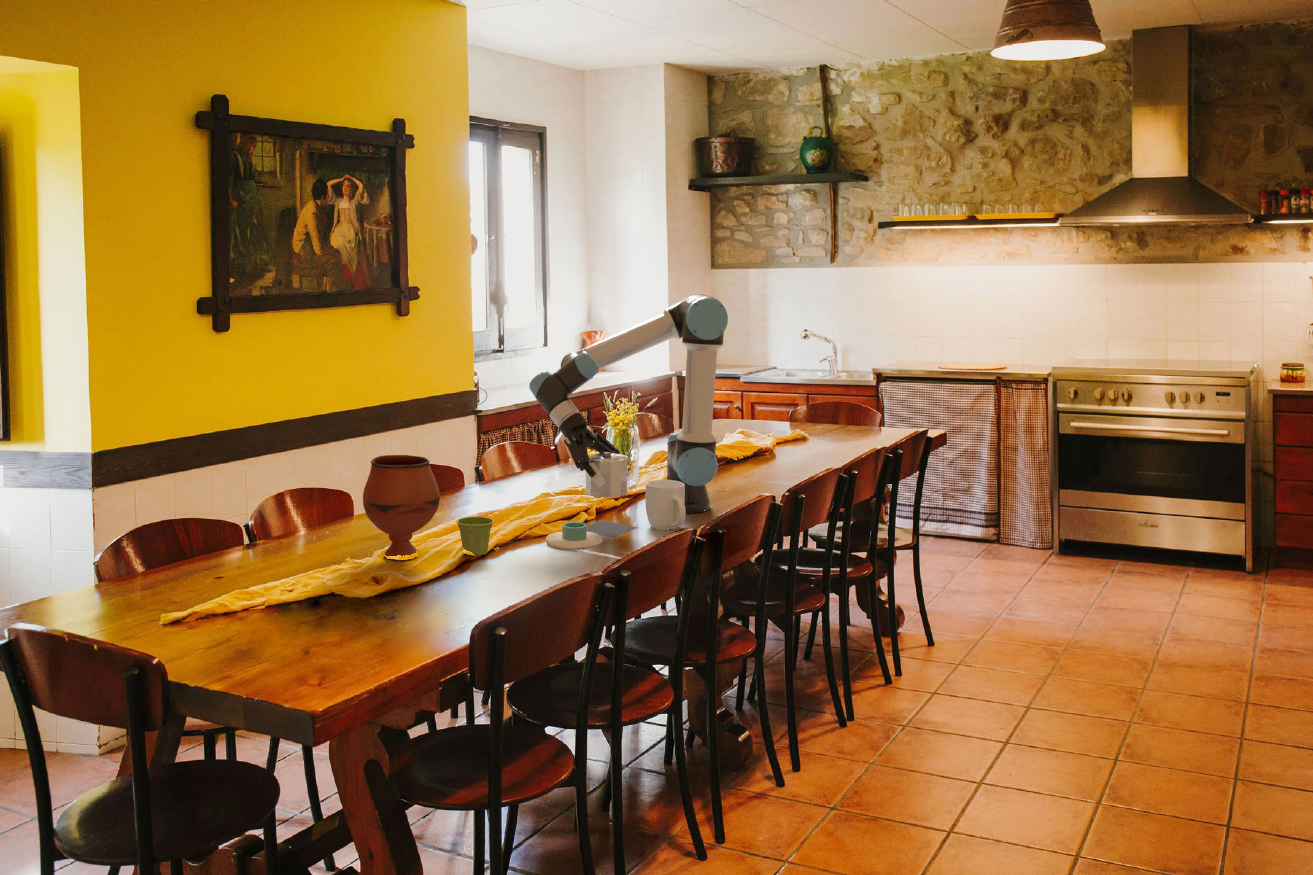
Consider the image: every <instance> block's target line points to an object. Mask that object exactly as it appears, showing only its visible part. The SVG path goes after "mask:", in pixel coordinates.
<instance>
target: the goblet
mask: <svg viewBox="0 0 1313 875" xmlns="http://www.w3.org/2000/svg"><path fill="white" fill-rule="evenodd" d="M370 464H371V465H370V472H369V475H368V476H367V480H366V483H365V486H364V489H363V493H362V504H363V505H362V506H363V509H364V512H365V515H366V518H368V520H369V521H370V522H372V524H373V525H374V526H375V527H376V528H377V529H378V530H380V531H381V532H383V533H384V534H386V535H388V540H389V541H391V544H390V545H389V546H388V548H387V549H386V550H385V552H384V554H385V555H386V556H397V555H401V556H403V555H404V556H405V555H411V554H413V553H416V551H418V549H417V548H416V547H415V546H414V545H413V544H412V542H411V541H410V540H411V539H412V538H413V533H415V532H418V531H420V530H421V529H422V528H424V527H425V526H426V525H427V524H428V523H429V522H431V520H432V519H433V518H434V517H435V515H436V513H437V512H438V509H439V506H440V500H441V493H440V489H439V486H438V483H437V480H436V477H435V475H434V473H433V471H432V468H431V466H430V464H431V463H430V460H429V459H428V458H426V457H424V456H417V455H408V454H387V455H379V456H376V457H374V458H372V459H371V461H370Z"/></svg>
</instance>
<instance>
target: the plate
mask: <svg viewBox="0 0 1313 875" xmlns="http://www.w3.org/2000/svg"><path fill="white" fill-rule="evenodd" d="M587 525H588V524H586V523H585V522H580V521H569V522H568V521H567V522H565V523H562V531H556V532H552V533H550V534H548V535H546V537H545V538H546V542H545V543H546V545H548V546H550V547H552V548H556V549H561V550H567V551H569V550H570V551H575V550H580V551H581V550H583V548H590V547H595V546H598V545H600V544H601V543H603V541H604V540H603V539H604V538H603V535H599V534H596V533H593V532H587Z"/></svg>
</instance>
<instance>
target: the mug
mask: <svg viewBox="0 0 1313 875" xmlns="http://www.w3.org/2000/svg"><path fill="white" fill-rule="evenodd" d="M684 502H685V484H684V483H682V482H679V481H674V480H667V479H655V480H654V479H653V480H649V481H646V483H645V512H646V516H647V521H648V523H649V525H650V527H651V528H652V529H654V530H657V529H662V530H661V531H670V530H669V529H674V530H677V529H678V528H679V527H680V526H682V525H683V524H684V523H685V521H686V517H687V515H686V514H687V513H686V510H685V505H684ZM667 529H668V530H667Z"/></svg>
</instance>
